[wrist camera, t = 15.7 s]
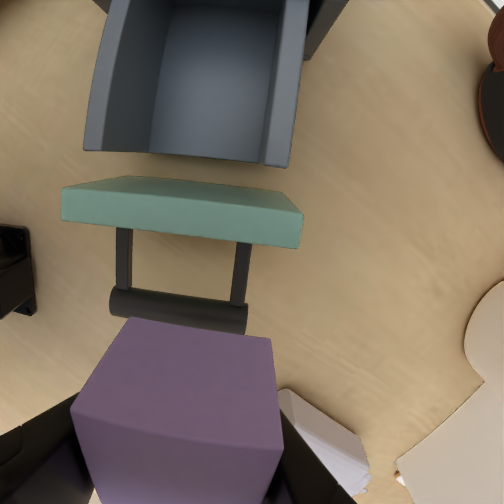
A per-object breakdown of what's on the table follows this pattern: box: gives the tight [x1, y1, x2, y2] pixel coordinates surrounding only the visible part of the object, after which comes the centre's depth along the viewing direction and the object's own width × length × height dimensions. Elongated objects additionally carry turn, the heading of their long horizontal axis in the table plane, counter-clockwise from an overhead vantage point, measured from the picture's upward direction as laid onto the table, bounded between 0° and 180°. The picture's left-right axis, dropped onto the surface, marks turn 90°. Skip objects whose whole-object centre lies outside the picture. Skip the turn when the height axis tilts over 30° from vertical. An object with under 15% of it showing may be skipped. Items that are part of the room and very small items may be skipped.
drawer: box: [61, 0, 310, 335], centre depth 13 cm, size 16×8×7 cm, turn 172°
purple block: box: [70, 317, 284, 504], centre depth 7 cm, size 4×4×4 cm
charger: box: [277, 388, 372, 497], centre depth 21 cm, size 5×9×15 cm
